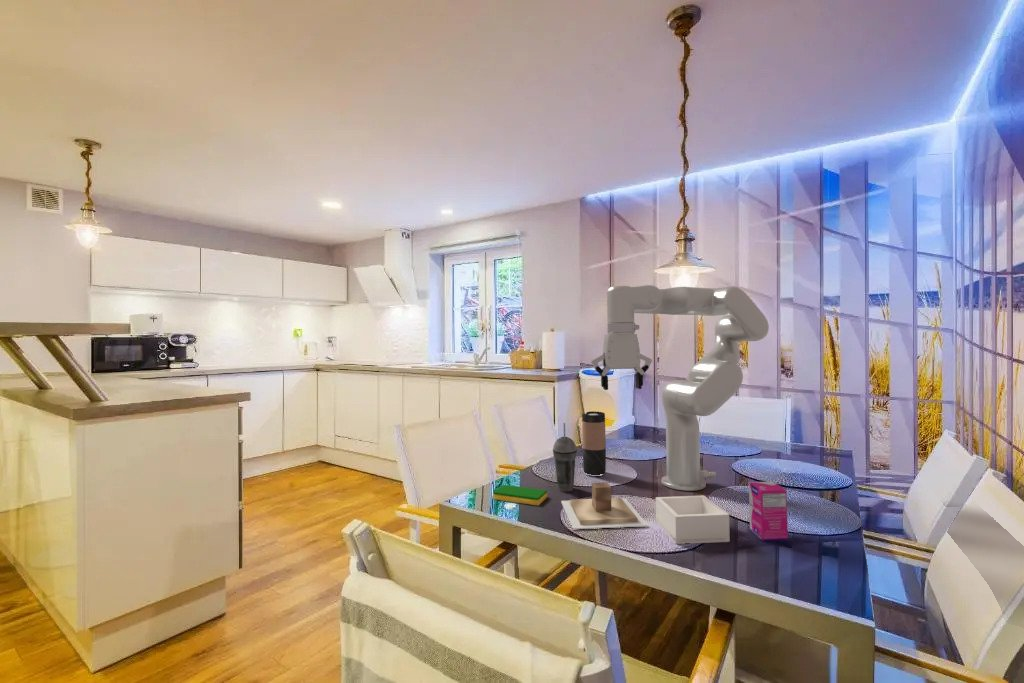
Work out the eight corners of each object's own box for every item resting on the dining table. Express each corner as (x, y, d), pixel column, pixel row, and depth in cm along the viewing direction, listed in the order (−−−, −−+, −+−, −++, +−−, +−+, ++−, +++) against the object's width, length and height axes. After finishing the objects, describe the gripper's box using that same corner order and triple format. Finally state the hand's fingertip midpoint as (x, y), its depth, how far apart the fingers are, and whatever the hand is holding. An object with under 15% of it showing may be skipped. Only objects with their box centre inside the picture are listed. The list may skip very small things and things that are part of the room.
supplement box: (748, 530, 105) (747, 481, 105) (774, 530, 105) (774, 481, 105) (761, 541, 100) (760, 489, 100) (789, 541, 99) (788, 489, 99)
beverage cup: (577, 485, 140) (576, 420, 140) (578, 493, 133) (577, 424, 132) (553, 484, 141) (552, 420, 140) (553, 492, 133) (551, 424, 133)
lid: (620, 501, 124) (620, 475, 124) (637, 522, 110) (637, 493, 110) (569, 503, 123) (569, 477, 123) (580, 524, 110) (579, 495, 109)
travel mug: (608, 476, 147) (607, 415, 147) (584, 477, 147) (583, 415, 147) (604, 469, 155) (602, 411, 155) (581, 470, 155) (580, 411, 155)
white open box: (704, 519, 112) (703, 495, 112) (729, 541, 100) (729, 514, 100) (656, 521, 111) (655, 497, 111) (675, 544, 99) (675, 516, 99)
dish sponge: (503, 492, 136) (503, 484, 136) (547, 498, 130) (547, 489, 130) (493, 500, 130) (492, 492, 130) (538, 507, 124) (538, 498, 124)
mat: (625, 500, 126) (625, 498, 126) (648, 527, 108) (648, 525, 108) (561, 502, 125) (561, 500, 125) (573, 530, 108) (573, 528, 107)
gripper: (646, 328, 135) (647, 386, 135) (588, 330, 134) (589, 388, 134) (655, 328, 127) (656, 389, 128) (594, 329, 127) (595, 391, 127)
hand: (622, 388), depth 131 cm, fingers open, 9 cm apart
